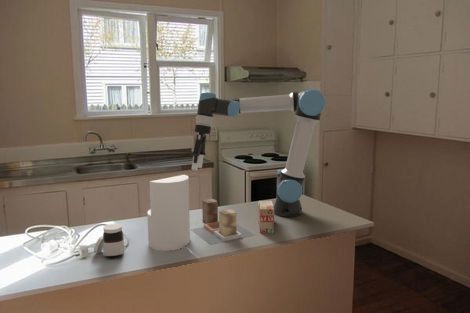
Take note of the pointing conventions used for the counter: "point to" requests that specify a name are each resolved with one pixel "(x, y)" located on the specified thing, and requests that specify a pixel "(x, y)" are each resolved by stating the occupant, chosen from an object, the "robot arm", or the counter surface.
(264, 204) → the stack of blocks
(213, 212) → the walnut pillar
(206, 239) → the board
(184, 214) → the cylinder
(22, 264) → the counter surface
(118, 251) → the spread jar
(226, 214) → the oak pillar
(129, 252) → the counter surface
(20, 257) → the counter surface
